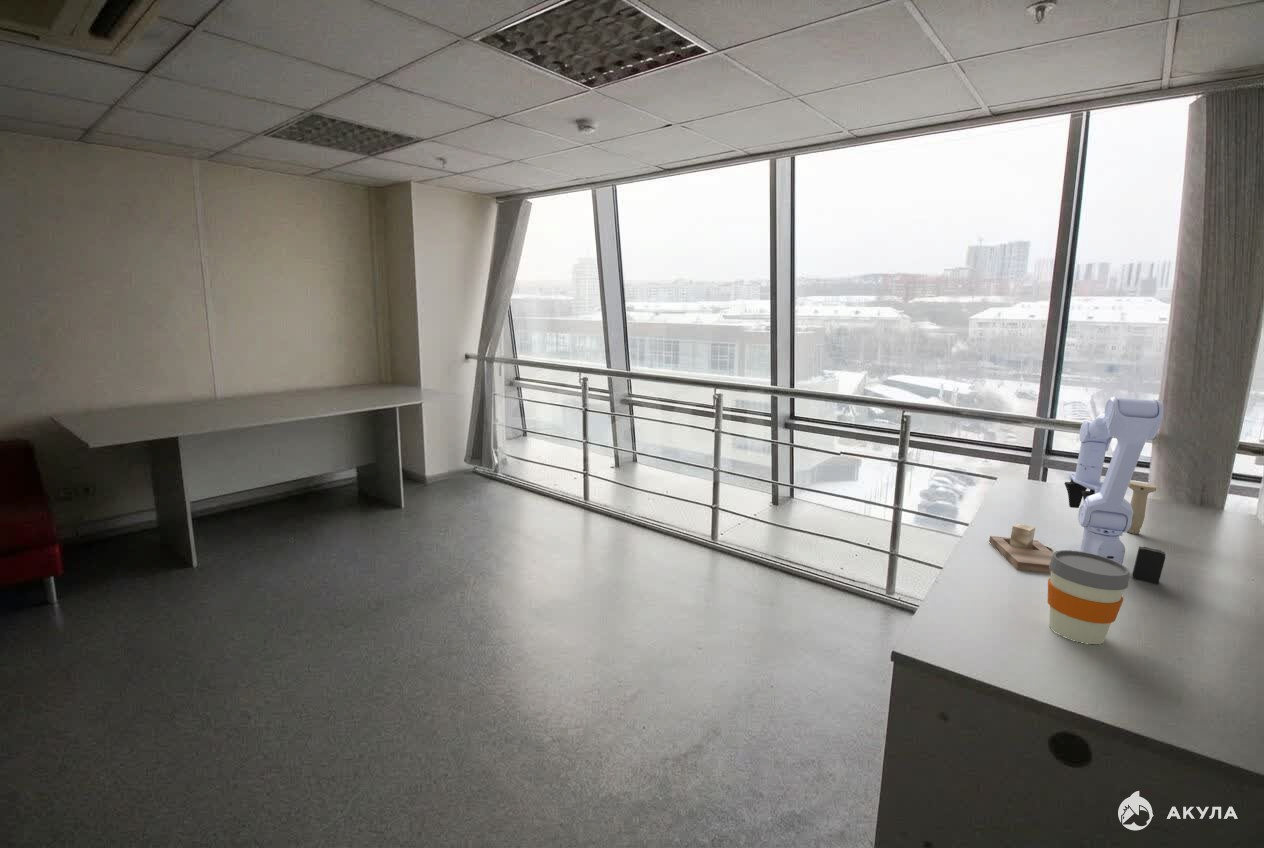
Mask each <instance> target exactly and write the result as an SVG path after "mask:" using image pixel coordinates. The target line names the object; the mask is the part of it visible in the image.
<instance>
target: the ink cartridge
mask: <svg viewBox="0 0 1264 848" xmlns="http://www.w3.org/2000/svg"><path fill="white" fill-rule="evenodd" d="M1165 560H1166V553H1165V551H1162V550H1161V549H1156V548H1150V547H1149V546H1138V550H1137V553H1136V558H1135V563H1134V564H1133V565H1134V566H1133V571H1132V574H1131V575H1132V579H1134V580H1138V581H1142V582H1144V583H1145V582H1146V583H1149V584H1150V583H1151V584H1154V583H1155V584H1154V585H1159V583H1160V579H1161V575H1162V571H1163V568H1164V566H1165V565H1164V564H1165Z"/></svg>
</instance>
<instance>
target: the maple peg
mask: <svg viewBox="0 0 1264 848" xmlns="http://www.w3.org/2000/svg"><path fill="white" fill-rule="evenodd" d="M1035 532H1036V527H1034V526H1030V525H1028V524H1027V525H1026V524H1022V523H1017V524H1013V525H1012V528H1011V534H1010V538H1011V539H1010V546H1012V547H1013V548H1022V549H1032V544H1033V540H1034V536H1035Z"/></svg>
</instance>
